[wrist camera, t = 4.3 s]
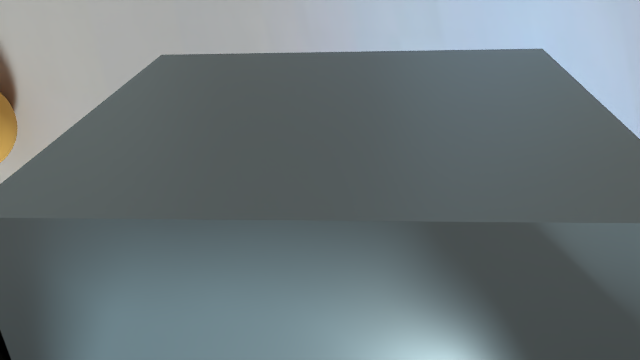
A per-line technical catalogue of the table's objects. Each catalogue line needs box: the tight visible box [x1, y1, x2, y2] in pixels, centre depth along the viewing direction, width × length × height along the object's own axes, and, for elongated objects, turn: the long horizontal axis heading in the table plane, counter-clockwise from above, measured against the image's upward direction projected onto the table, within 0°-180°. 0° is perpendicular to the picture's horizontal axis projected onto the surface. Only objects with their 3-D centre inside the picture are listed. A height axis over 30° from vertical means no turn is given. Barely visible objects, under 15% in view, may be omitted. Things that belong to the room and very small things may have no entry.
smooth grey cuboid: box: [0, 49, 640, 360], centre depth 14 cm, size 10×10×9 cm
